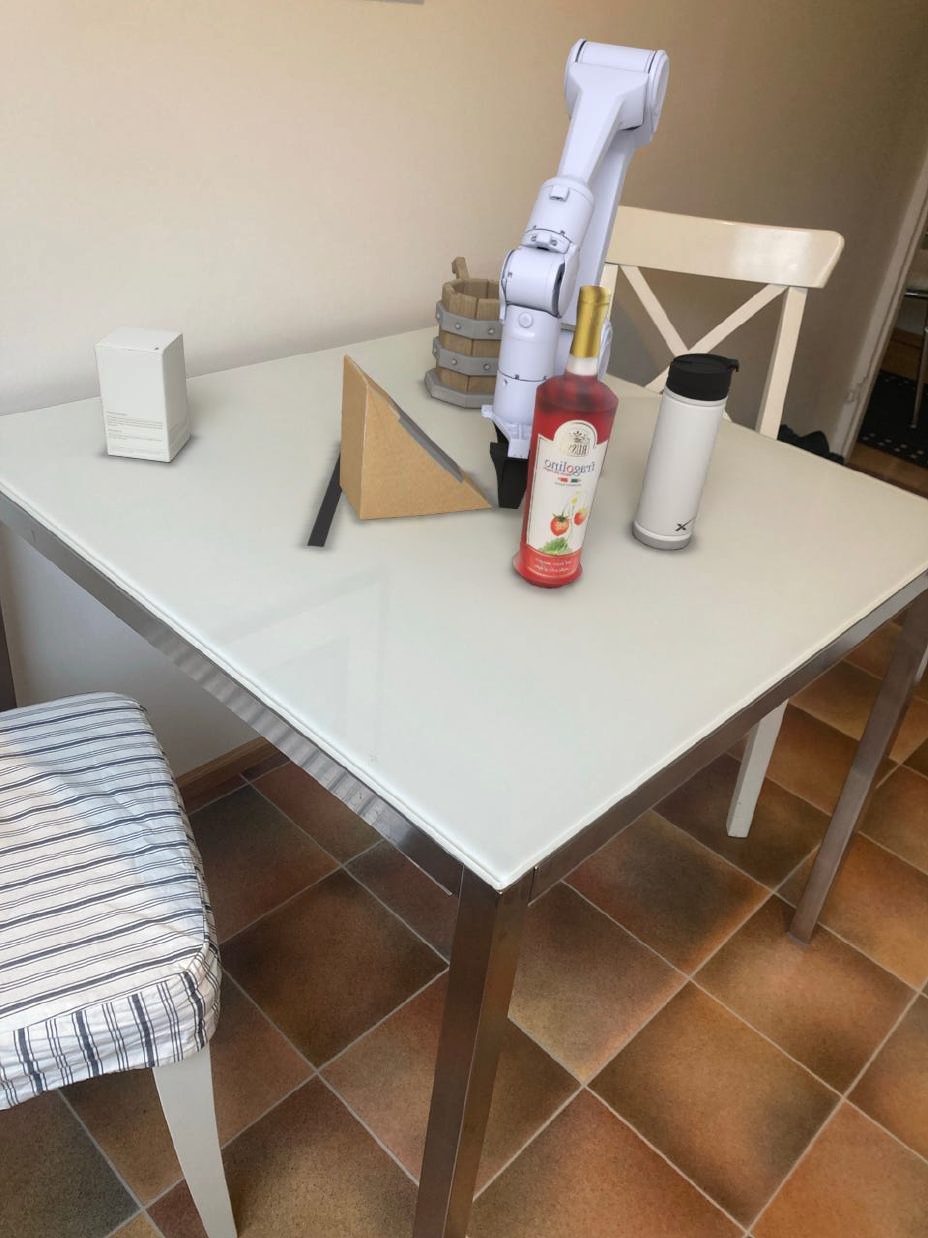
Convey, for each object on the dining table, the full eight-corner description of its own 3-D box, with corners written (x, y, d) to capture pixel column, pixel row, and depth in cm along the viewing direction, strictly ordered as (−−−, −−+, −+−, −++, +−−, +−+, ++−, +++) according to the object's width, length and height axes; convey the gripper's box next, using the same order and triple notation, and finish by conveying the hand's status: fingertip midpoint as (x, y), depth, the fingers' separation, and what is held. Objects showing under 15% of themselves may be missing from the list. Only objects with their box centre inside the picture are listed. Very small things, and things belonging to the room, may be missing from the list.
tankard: (528, 409, 133) (544, 297, 125) (437, 408, 130) (447, 293, 122) (492, 356, 149) (504, 254, 141) (410, 355, 146) (417, 250, 138)
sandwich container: (495, 509, 108) (513, 378, 100) (360, 521, 103) (367, 384, 94) (467, 473, 115) (481, 348, 106) (338, 483, 109) (343, 352, 101)
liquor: (578, 560, 101) (633, 282, 85) (585, 599, 95) (645, 307, 79) (507, 554, 100) (548, 273, 85) (510, 593, 94) (555, 298, 79)
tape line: (355, 447, 118) (355, 446, 118) (323, 547, 98) (323, 546, 98) (342, 445, 118) (342, 445, 118) (307, 545, 98) (307, 544, 98)
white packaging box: (192, 437, 115) (185, 331, 108) (169, 464, 109) (161, 353, 102) (130, 429, 116) (119, 322, 108) (104, 455, 109) (91, 343, 102)
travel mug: (692, 556, 104) (741, 373, 93) (630, 544, 105) (671, 361, 93) (692, 529, 109) (739, 352, 98) (633, 517, 110) (673, 341, 99)
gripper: (488, 343, 106) (474, 458, 114) (484, 392, 94) (470, 518, 102) (552, 351, 106) (535, 465, 114) (558, 401, 94) (537, 525, 102)
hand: (508, 491), depth 108 cm, fingers open, 7 cm apart
